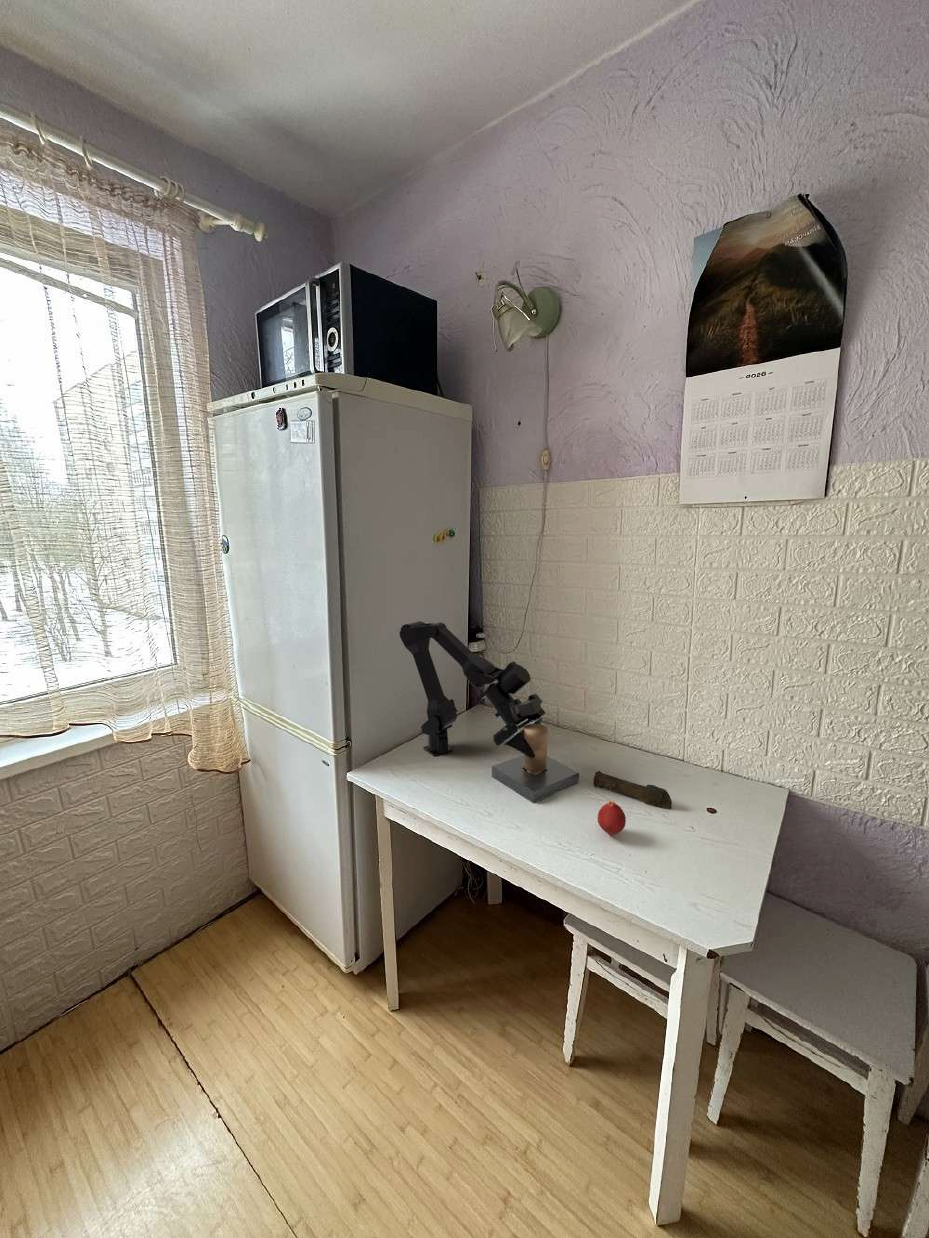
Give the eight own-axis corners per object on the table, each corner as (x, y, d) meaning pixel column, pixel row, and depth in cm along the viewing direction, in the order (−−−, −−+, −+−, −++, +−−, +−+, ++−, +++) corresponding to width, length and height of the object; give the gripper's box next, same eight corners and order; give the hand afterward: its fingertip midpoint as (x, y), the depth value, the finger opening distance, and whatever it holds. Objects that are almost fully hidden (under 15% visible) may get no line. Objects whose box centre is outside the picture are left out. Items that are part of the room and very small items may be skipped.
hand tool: (591, 788, 128) (592, 771, 127) (598, 782, 131) (599, 765, 130) (666, 816, 116) (668, 797, 115) (672, 808, 119) (674, 790, 118)
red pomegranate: (603, 823, 112) (605, 790, 111) (629, 833, 109) (631, 799, 107) (592, 835, 108) (594, 801, 107) (618, 846, 104) (620, 811, 103)
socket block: (491, 776, 134) (491, 766, 133) (535, 760, 143) (536, 750, 142) (533, 803, 121) (533, 791, 120) (578, 783, 130) (579, 772, 129)
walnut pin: (520, 778, 130) (521, 731, 127) (525, 768, 135) (526, 722, 133) (544, 782, 128) (545, 734, 125) (547, 771, 133) (549, 725, 131)
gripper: (504, 696, 122) (543, 751, 118) (540, 678, 137) (576, 725, 133) (477, 720, 128) (513, 772, 124) (514, 699, 143) (548, 745, 139)
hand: (539, 752), depth 130 cm, fingers closed on walnut pin, 6 cm apart
